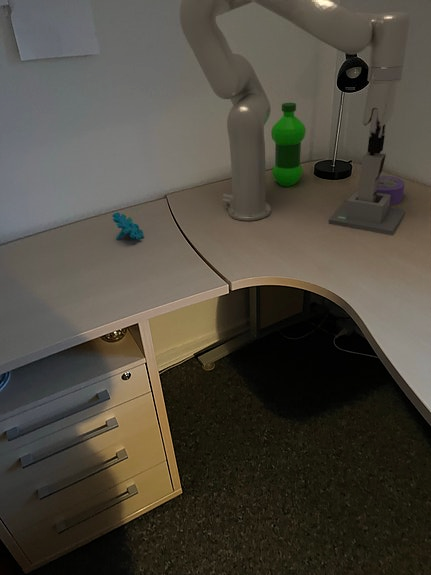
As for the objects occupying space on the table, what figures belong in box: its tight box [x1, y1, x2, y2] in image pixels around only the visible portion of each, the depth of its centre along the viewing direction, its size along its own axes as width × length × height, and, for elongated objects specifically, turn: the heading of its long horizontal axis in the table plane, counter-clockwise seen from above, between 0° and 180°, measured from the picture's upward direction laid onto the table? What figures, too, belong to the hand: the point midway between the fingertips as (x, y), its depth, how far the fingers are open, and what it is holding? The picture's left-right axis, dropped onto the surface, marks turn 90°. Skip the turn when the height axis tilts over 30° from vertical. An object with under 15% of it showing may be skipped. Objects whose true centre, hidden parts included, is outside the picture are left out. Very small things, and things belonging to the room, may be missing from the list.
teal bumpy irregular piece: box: [111, 211, 144, 241], centre depth 128 cm, size 11×6×10 cm
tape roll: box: [377, 174, 405, 206], centre depth 139 cm, size 12×12×5 cm
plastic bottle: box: [271, 102, 306, 187], centre depth 148 cm, size 10×10×25 cm
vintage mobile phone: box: [357, 151, 387, 203], centre depth 121 cm, size 4×5×25 cm
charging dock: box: [328, 189, 406, 236], centre depth 127 cm, size 17×14×6 cm
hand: (375, 151), depth 119 cm, fingers closed
